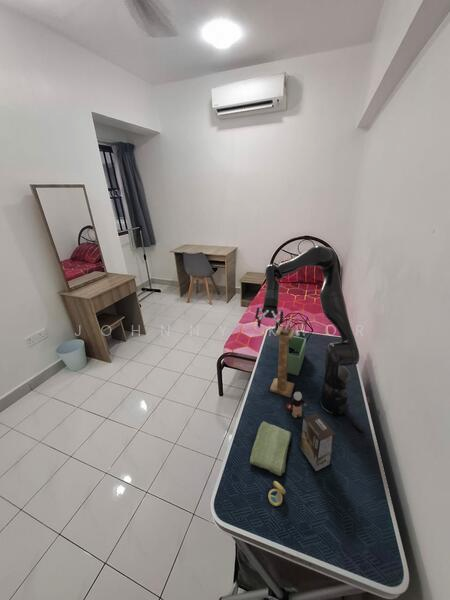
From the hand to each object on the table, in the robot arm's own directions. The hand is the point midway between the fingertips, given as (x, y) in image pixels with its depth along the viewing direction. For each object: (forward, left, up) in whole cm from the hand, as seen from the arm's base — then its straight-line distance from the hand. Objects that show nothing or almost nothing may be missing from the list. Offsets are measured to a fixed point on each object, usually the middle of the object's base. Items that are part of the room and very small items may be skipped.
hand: (267, 328), depth 123 cm
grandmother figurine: (-33, +6, -23) cm, 41 cm away
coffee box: (-50, +11, -23) cm, 57 cm away
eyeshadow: (-55, +31, -23) cm, 68 cm away
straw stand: (-18, +2, -23) cm, 29 cm away
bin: (-5, -13, -23) cm, 27 cm away
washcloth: (-41, +24, -23) cm, 53 cm away
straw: (-15, -1, +10) cm, 19 cm away
